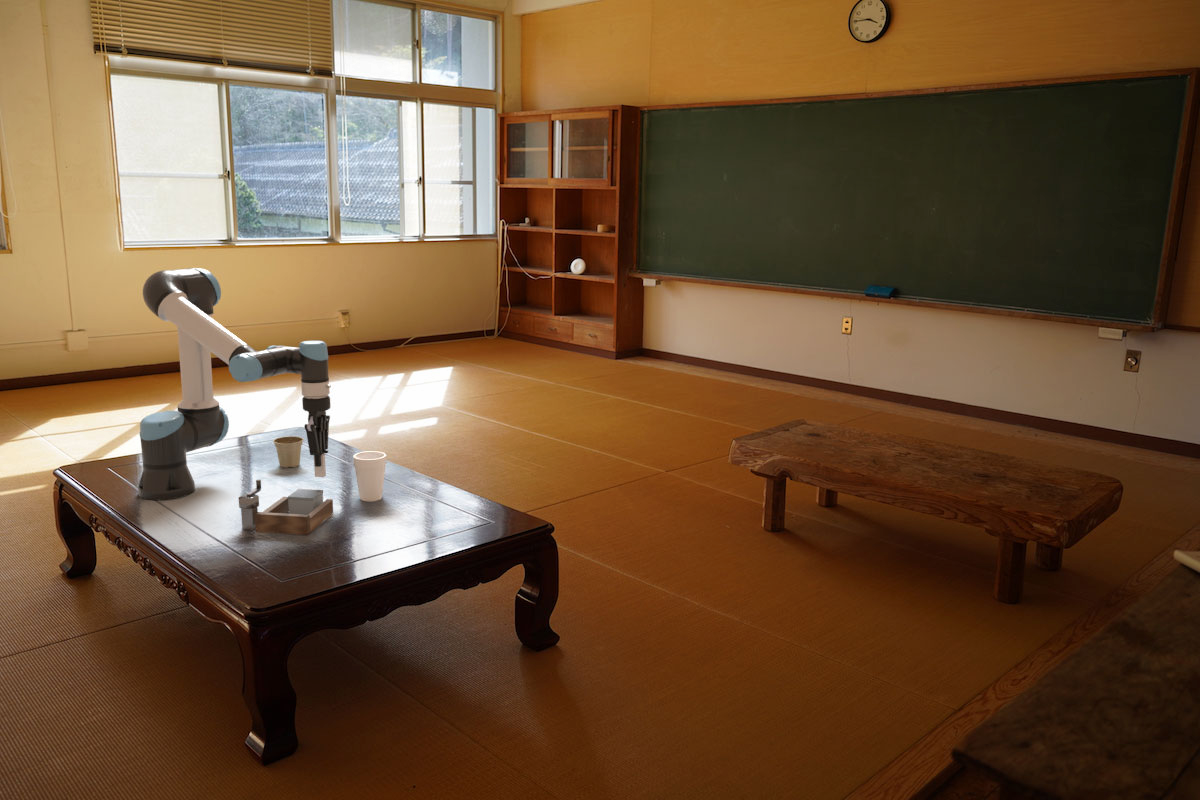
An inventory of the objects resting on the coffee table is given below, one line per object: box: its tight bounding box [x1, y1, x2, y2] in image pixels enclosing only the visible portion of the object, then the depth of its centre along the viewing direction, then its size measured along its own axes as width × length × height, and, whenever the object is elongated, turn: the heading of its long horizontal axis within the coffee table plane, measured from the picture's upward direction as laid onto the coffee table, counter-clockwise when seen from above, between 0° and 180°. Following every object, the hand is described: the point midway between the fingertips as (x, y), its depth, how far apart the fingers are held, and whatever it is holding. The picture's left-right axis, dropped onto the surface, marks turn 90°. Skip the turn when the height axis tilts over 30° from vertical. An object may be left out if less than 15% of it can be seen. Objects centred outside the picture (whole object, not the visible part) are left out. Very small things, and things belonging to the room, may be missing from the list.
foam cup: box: [352, 450, 387, 502], centre depth 270 cm, size 10×9×13 cm
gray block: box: [287, 488, 324, 515], centre depth 256 cm, size 7×7×6 cm
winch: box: [238, 479, 262, 531], centre depth 246 cm, size 5×9×11 cm, turn 175°
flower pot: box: [272, 435, 304, 469], centre depth 301 cm, size 9×9×9 cm
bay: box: [254, 496, 334, 536], centre depth 249 cm, size 14×18×5 cm
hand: (320, 476), depth 265 cm, fingers closed
